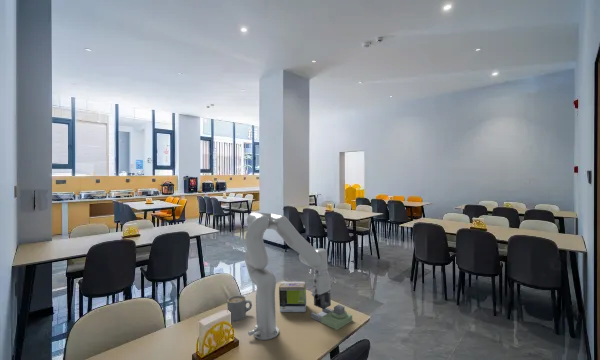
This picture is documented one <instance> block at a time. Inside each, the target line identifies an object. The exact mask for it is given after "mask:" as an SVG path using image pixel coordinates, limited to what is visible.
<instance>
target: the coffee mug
mask: <svg viewBox="0 0 600 360" xmlns="http://www.w3.org/2000/svg"><path fill="white" fill-rule="evenodd" d="M226 301H227V304H226V305H227V311H228V310H229V311H230V312H231V322H239V321H242V320H244V319H245V318H246V316H247V312H248V311H250V310H252V307H253V304H252V301H251V300H250V299H246V297H245V296H244V295H241V294H239V295H237V294H236V295H232V296H229V297H228V298H227V300H226ZM248 303H249V306H248V307H247V304H248Z"/></svg>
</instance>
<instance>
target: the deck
mask: <svg viewBox="0 0 600 360" xmlns="http://www.w3.org/2000/svg"><path fill="white" fill-rule="evenodd" d="M321 310H322V311H320V312H318V313H315V312H313V311H312V312H310V318H311V319H313V320H315V321H317V322H319V323H321V324H322V325H323V324H324V326H325V325H326V326H328V327H330V328H332V329H334V330H335V331H338V330H339V329H341V328H342V327H344V326H346V325H348V324H349V323H351V322H352V321H353V314H351V313H348V312H347V311H346V310H345V306H343V305H341V304H336V305H335V306H333V309H332V308H329V307H327V308H325V309H322V308H321Z"/></svg>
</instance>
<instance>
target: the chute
mask: <svg viewBox="0 0 600 360" xmlns="http://www.w3.org/2000/svg"><path fill="white" fill-rule="evenodd" d="M317 296H318V294H317ZM331 299H332V298H331V292H325V293H323V294H321V295H320V304H321V306H320V307H319V306H317V305H316V300H315V298H314V297H313V306H315V307H318V308H320V309H321V310H322V309H325V308H329V307H330V306H332V303H331V302H332V300H331Z"/></svg>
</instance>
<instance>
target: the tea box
mask: <svg viewBox="0 0 600 360" xmlns="http://www.w3.org/2000/svg"><path fill="white" fill-rule="evenodd" d="M306 285H307V284H306V281H305V280H303V281H300V280H299V281H297V280H296V281H294V280H293V281H292V280H291V281H281V282H280V284H279V287H278V299H279V312H280V313H306V309H307V286H306Z"/></svg>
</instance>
